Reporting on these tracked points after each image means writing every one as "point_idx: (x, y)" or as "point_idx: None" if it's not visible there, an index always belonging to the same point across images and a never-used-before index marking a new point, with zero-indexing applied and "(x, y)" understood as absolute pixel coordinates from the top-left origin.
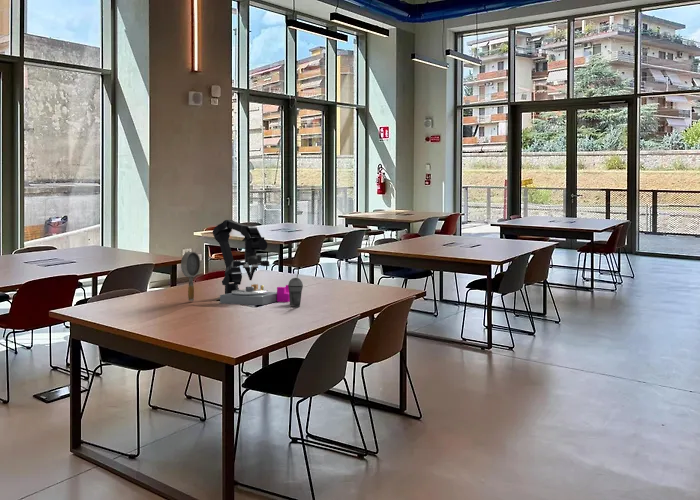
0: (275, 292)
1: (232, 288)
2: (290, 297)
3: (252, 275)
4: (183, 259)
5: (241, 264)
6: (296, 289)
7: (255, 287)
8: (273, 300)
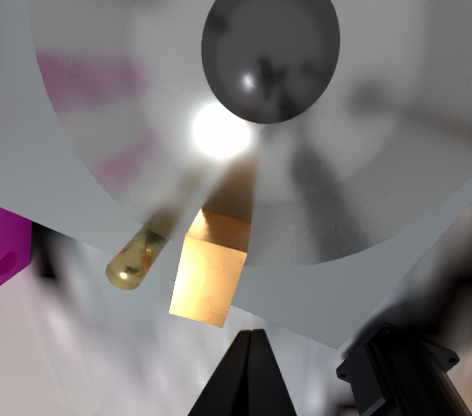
0: (27, 194)
1: (421, 398)
2: None
3: (206, 402)
4: None
5: None
6: None
7: (198, 221)
8: None
